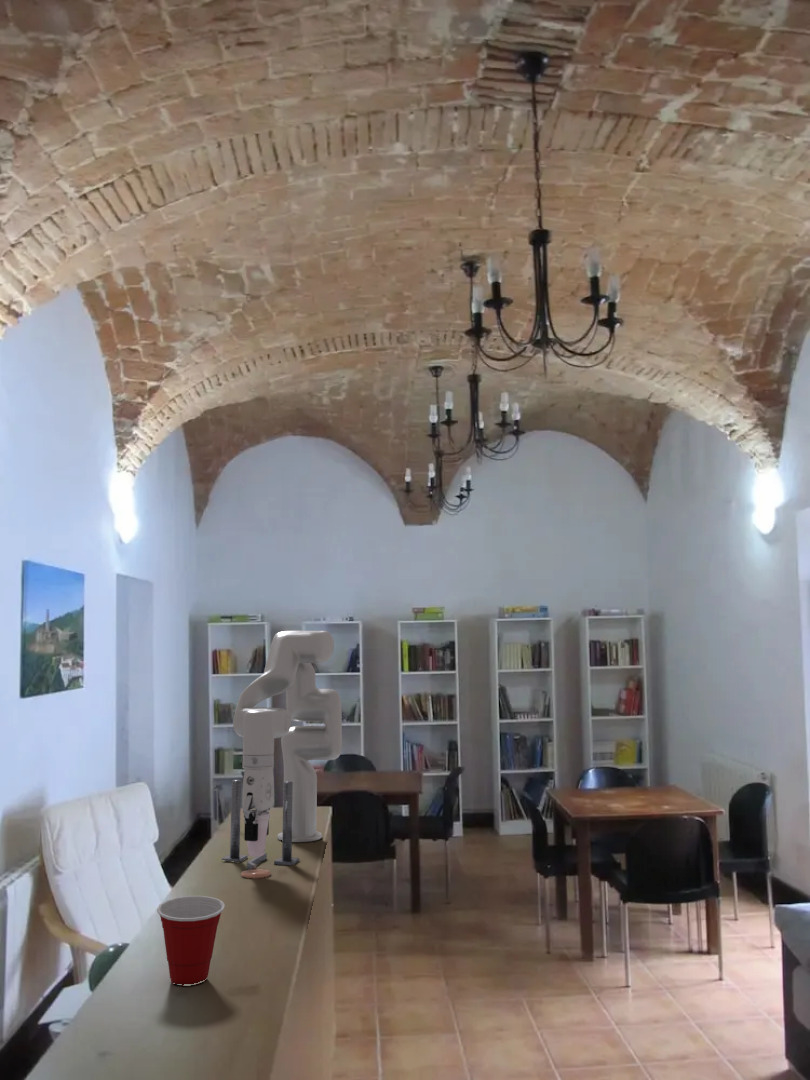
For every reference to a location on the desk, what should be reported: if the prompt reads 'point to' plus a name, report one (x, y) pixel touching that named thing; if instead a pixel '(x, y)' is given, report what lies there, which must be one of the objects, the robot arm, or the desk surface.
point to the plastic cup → (190, 936)
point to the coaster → (256, 873)
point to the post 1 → (235, 824)
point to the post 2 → (287, 827)
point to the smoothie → (259, 835)
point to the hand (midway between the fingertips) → (256, 837)
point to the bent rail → (256, 861)
